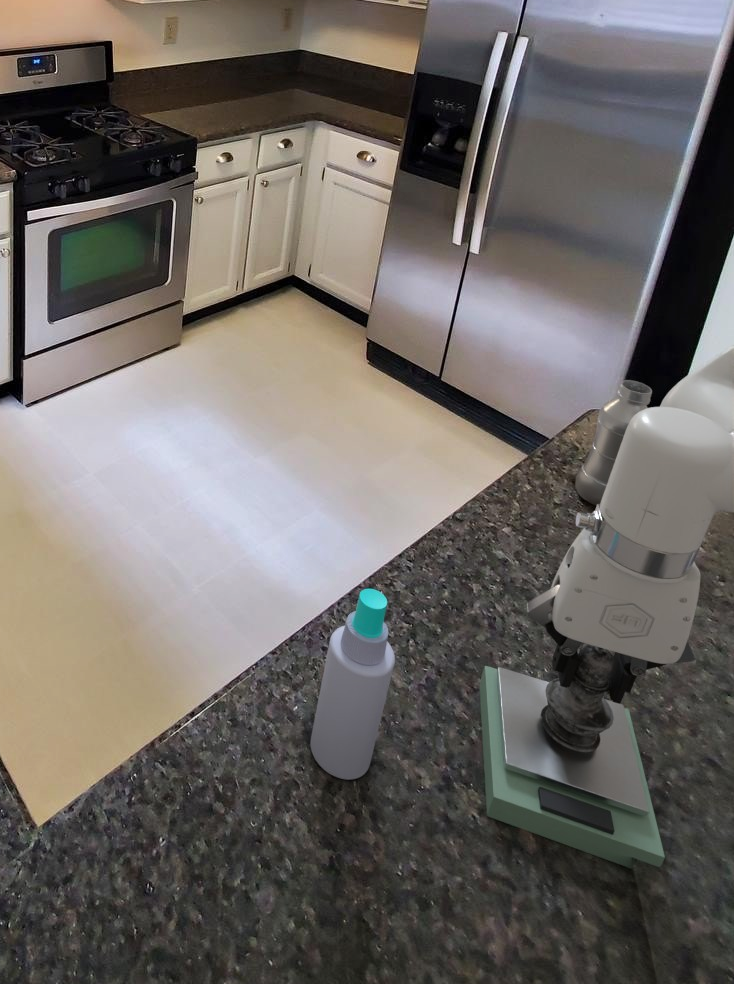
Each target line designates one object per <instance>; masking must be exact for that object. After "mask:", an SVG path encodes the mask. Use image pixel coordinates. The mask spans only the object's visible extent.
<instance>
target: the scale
mask: <svg viewBox="0 0 734 984" xmlns="http://www.w3.org/2000/svg"><path fill="white" fill-rule="evenodd" d="M497 669H498V668H495V667H491V666H488V665H484V667H483V670H482V674H481V677H480V680H479V684H478V687H479V702H480V703H479V704H480V717H481V722H480V723H481V735H482V736H481V738H482V754H483V770H484V771H483V772H484V773H483V774H484V789H485V805H486V807H485V808H486V816H487V817H488V818H491V819H494V820H497V821H499V822H502V823H505V824H508V825H510V826H513V827H516V828H519V829H521V830H523V831H526V832H529V833H532V834H535V835H537V836H540V837H544V838H546V839H549V840H551V841H554V842H557V843H560V844H563V845H566V846H568V847H570V848H573V849H576V850H579V851H582V852H584V853H587V854H590V855H592V856H595V857H598V858H601V859H604V860H606V861H609V862H612V863H614V864H617V865H619V866H622V867H625V868H628V869H630V870H635V866H634V862H633V859H635V860H638V861H640V862H644V863H647V864H649V865H652V866H654V867H658V868H661V866H662V865H663V863H664V861H665V859H666V855H665V851H664V848H663V843H662V840H661V835H660V832H659V827H658V824H657V823H658V822H657V818H656V815H655V811H654V810H655V809H654V807H653V803H652V799H651V794H650V790H649V787H648V781H647V779H646V778H647V777H646V774H645V770H644V766H643V762H642V758H641V753H640V749H639V745H638V741H637V737H636V734H635V730H634V729H635V728H634V725H633V720H632V717H631V713H630V709H629V708H626V707H624V709H625V713H626V717H627V721H628V726H629V730H630V734H631V738H632V742H633V747H634V751H635V755H636V759H637V763H638V767H639V772H640V776H641V780H642V784H643V788H644V792H645V797H646V801H647V805H648V809H649V813H648V815H647V817H645V816H642V815H639V814H636V813H633V812H630V811H628V810H625V809H622V808H619V807H616V806H613V805H610V804H607V803H604V802H601V801H598V800H595V799H593V798H590V797H587V796H584V795H581V794H578V793H575V792H572V791H569V790H566V789H563V788H560V787H558V786H555V785H552V784H549V783H546V782H543V781H540V780H537V779H534V778H531V777H528V776H525V775H523V774H520V773H517V772H514V771H511V770H508V769H505V768H504V756H503V744H502V732H501V719H500V707H499V695H498V683H497Z"/></svg>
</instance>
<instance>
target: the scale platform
mask: <svg viewBox="0 0 734 984" xmlns="http://www.w3.org/2000/svg"><path fill="white" fill-rule="evenodd" d="M496 669H497V683H498V695H499V707H500V719H501V732H502V744H503V756H504V768H505V769H508V770H511V771H514V772H517V773H520V774H523V775H525V776H528V777H531V778H534V779H537V780H540V781H543V782H546V783H549V784H552V785H555V786H558V787H560V788H563V789H566V790H569V791H572V792H575V793H578V794H581V795H584V796H587V797H590V798H593V799H595V800H598V801H601V802H604V803H607V804H610V805H613V806H616V807H619V808H622V809H625V810H628V811H630V812H633V813H636V814H639V815H642V816H645V817H647V815H648V813H649V809H648V805H647V801H646V797H645V792H644V788H643V784H642V780H641V776H640V772H639V767H638V763H637V759H636V755H635V751H634V747H633V742H632V738H631V734H630V730H629V726H628V721H627V717H626V713H625V709H624V708H625V705H624V704H623V703H620V704H618V703H615V702H613V700H609V699H607V698H604V699H605V700H606V701H607V703H608V704H609V706H610V707H611V709H612V712H613V717H614V719H613V724H612V725H611V726H610V728H609V729H606V730H604V731H603V732H601V733H599V734H600V739H601V740H600V745H599V746H598V748H597V749H596V750H594V751H592V752H577V751H574V750H571V749H569V748H567V747H565V746H563V745H561V744H560V743H558V742H557V741H556V740H554V739H553V738H552V737H551V736H550V735H549V734H548V732H547V731H546V730H545V728H544V727H543V724H542V722H541V716H540V715H541V712H542V709H543V708H544V707H545V706H547V705H548V702H547V698H546V687H547V684H548V683H549V682H550V681H546V680H543V679H540V678H537V677H533V676H531V675H527V674H523V673H520V672H517V671H514V670H511V669H507V668H503V667H500V666H498V667H497V668H496Z"/></svg>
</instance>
